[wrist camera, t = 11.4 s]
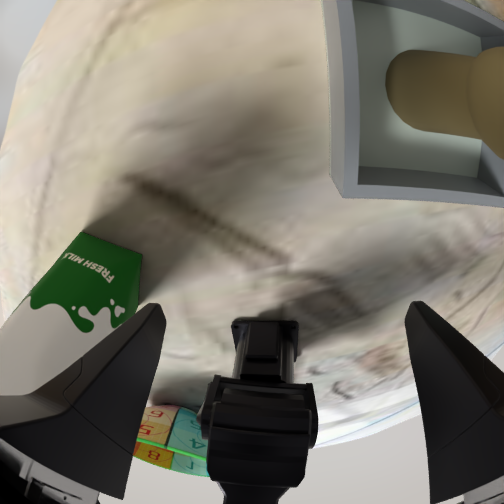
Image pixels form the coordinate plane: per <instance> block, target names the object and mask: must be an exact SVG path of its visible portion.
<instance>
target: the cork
mask: <svg viewBox="0 0 504 504" xmlns="http://www.w3.org/2000/svg"><path fill="white" fill-rule="evenodd" d="M385 88H386V92H387V97H388V100H389V102H390V104H391V106H392V108H393V110H394V112H395V113H396V114H397V115H398V116H399V117H400V119H401V120H402V121H403V122H404V123H406V124H408V125H409V126H411V127H412V128H414V129H417V130H421V131H425V132H433V133H442V134H449V135H456V136H462V137H468V138H474V139H479V140H482V141H483V142H484V143H485V144H486V145H487V146H488V147H489V148H490V149H491V150H492V151H493V152H494V153H495V154H496V155H497V156H498V157H499V158H501V159H503V160H504V47H494V48H490V49H487V50H485V51H483V52H481V53H479V54H478V56H477V57H473V56H467V55H461V54H454V53H446V52H437V51H426V50H407V51H404V52H402V53H399V54H398V55H397V56H396V57H395V58H394V59H393V60H392V61H391V62H390V64H389V67H388V69H387V71H386V79H385Z"/></svg>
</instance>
